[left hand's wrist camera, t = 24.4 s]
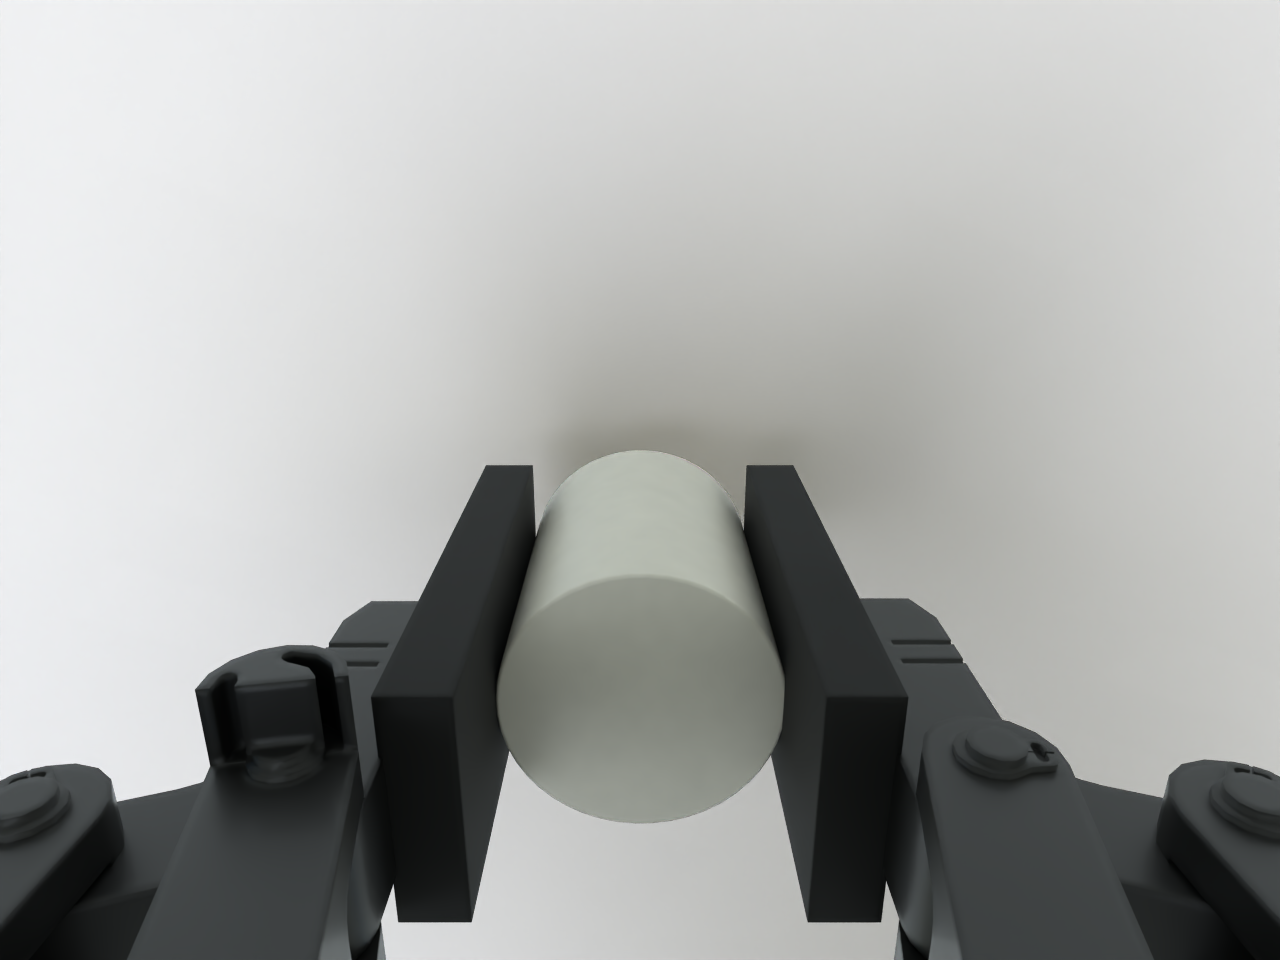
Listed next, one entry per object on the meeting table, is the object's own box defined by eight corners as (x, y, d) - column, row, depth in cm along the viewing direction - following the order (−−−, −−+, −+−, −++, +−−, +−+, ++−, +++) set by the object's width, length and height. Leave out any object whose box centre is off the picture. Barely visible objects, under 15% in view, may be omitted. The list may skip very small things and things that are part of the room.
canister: (647, 406, 14) (651, 515, 10) (786, 553, 15) (847, 714, 11) (494, 541, 15) (433, 698, 10) (634, 673, 16) (632, 870, 11)
